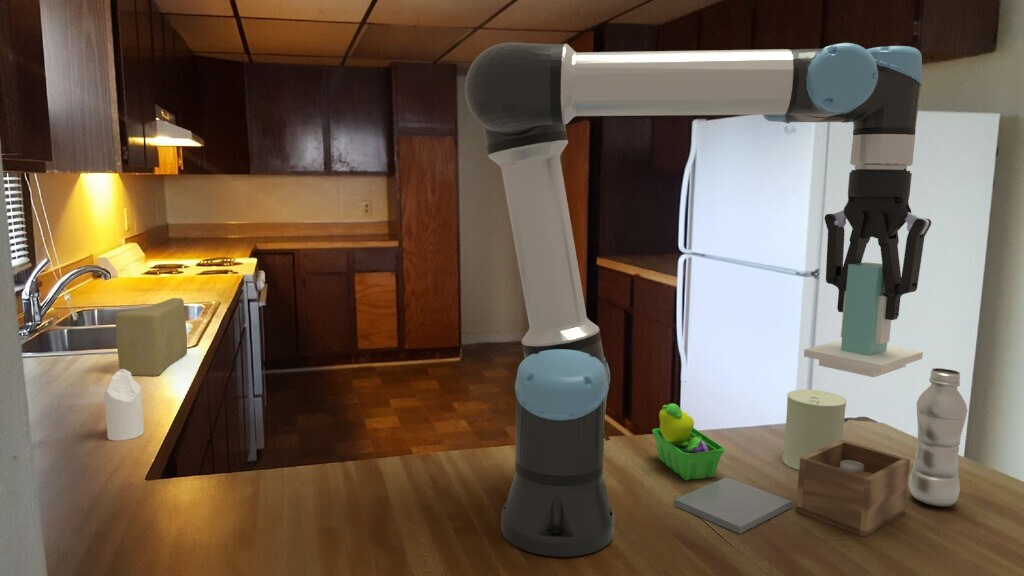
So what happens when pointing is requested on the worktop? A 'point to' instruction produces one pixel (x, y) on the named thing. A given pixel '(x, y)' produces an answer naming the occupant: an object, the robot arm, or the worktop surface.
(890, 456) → the box
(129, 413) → the white upright rounded piece
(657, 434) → the fruit basket
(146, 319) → the cheese
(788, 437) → the can
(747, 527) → the plate
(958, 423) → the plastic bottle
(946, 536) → the worktop surface
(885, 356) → the lid
